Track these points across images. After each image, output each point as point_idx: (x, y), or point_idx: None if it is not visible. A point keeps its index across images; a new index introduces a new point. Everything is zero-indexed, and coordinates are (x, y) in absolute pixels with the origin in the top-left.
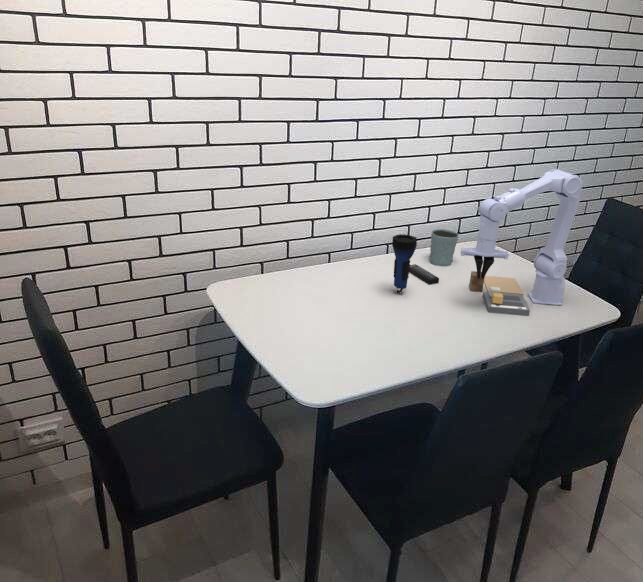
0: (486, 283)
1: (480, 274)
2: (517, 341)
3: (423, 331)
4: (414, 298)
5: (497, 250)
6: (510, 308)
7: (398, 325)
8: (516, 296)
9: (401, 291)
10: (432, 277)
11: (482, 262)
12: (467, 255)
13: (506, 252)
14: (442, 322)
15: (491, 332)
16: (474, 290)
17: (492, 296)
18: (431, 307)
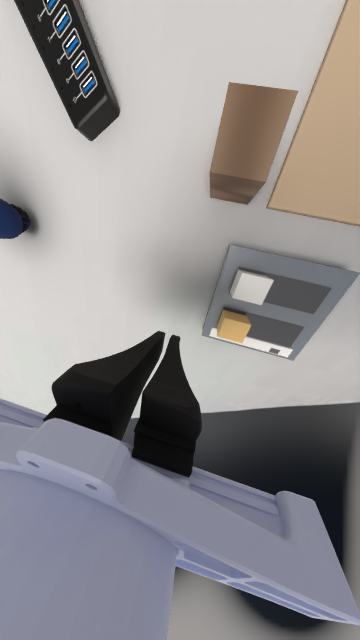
0: (314, 104)
1: (153, 367)
2: (206, 406)
3: None
4: (64, 255)
5: (240, 566)
6: (249, 347)
7: (57, 348)
8: (323, 287)
9: (27, 221)
10: (83, 86)
11: (119, 438)
12: (12, 410)
13: (316, 613)
14: (114, 350)
15: None
16: (222, 199)
17: (221, 320)
18: (98, 299)
